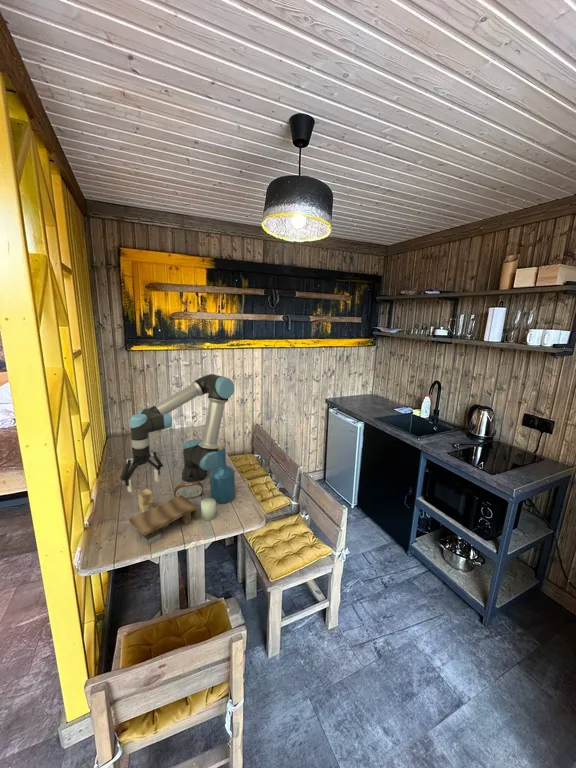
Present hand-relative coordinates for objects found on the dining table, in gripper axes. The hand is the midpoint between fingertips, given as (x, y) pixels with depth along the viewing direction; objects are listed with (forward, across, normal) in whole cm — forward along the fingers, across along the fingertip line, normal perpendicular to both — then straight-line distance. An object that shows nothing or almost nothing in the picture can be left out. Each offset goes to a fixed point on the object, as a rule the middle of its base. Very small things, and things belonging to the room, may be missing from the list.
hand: (143, 486), depth 159 cm
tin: (+14, -22, +6) cm, 26 cm away
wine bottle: (+13, -34, +20) cm, 41 cm away
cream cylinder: (+13, -18, +28) cm, 36 cm away
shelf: (+14, 0, +19) cm, 23 cm away
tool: (+14, -1, +9) cm, 16 cm away
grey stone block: (+14, +8, +22) cm, 28 cm away
